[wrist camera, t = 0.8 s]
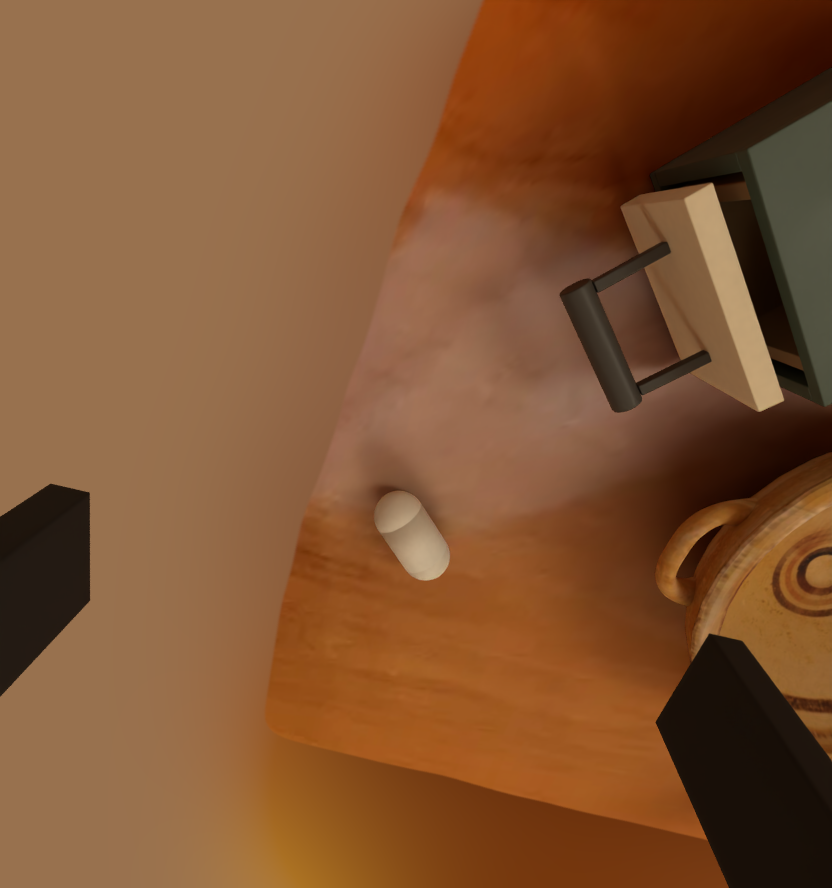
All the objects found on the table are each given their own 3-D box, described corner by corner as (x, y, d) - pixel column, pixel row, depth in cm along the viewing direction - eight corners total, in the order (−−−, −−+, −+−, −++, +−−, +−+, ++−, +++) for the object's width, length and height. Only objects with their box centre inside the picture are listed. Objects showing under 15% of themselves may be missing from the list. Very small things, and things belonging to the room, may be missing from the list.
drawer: (601, 411, 32) (648, 463, 25) (529, 258, 29) (560, 268, 22) (907, 260, 28) (1067, 271, 21) (864, 64, 25) (1036, -2, 18)
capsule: (367, 495, 36) (361, 520, 33) (409, 474, 36) (406, 497, 32) (417, 567, 38) (415, 597, 35) (457, 549, 38) (459, 578, 35)
